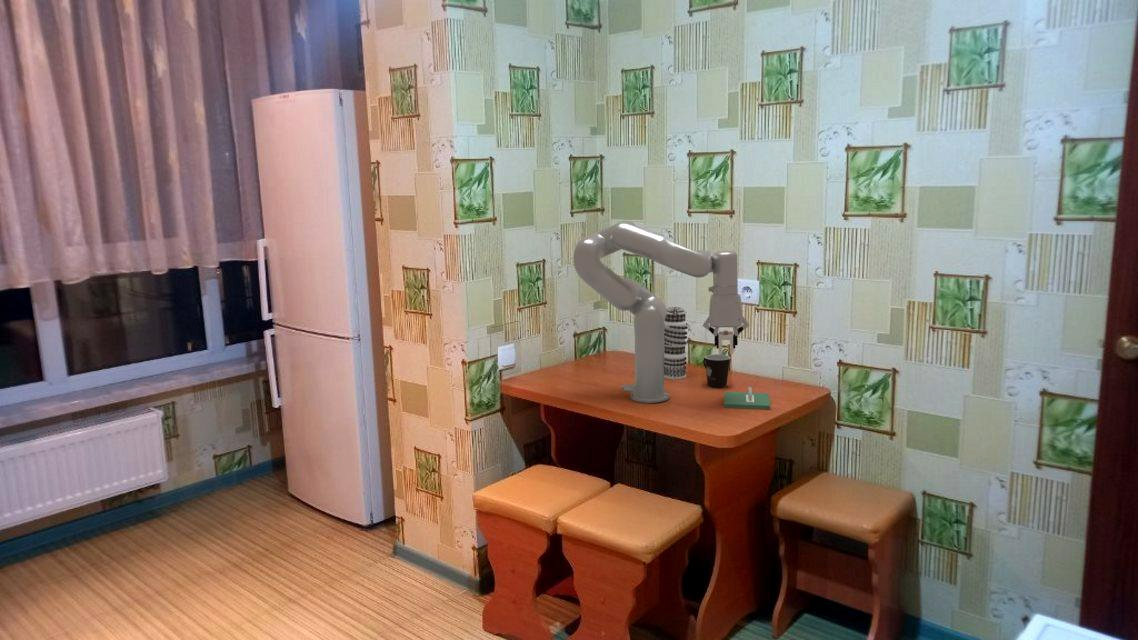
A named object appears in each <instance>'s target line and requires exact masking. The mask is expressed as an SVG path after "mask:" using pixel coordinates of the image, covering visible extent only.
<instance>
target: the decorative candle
mask: <svg viewBox="0 0 1138 640" xmlns="http://www.w3.org/2000/svg"><path fill="white" fill-rule="evenodd" d="M666 310H667V316H666V319H665V323H664V352H665V355H664V379H669V380H682V379H685V378H686V377H687V366H686V365H687V356H686V355H687V354H686V346H687V345H688V342H687V341H686V339H688V336H687V334H688V331H686V330H687V329H688V328H689V326H687V325H688V323H687V320H686V314H687V311H685V309H684V308H683V307H679V306H670V307H666Z"/></svg>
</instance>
